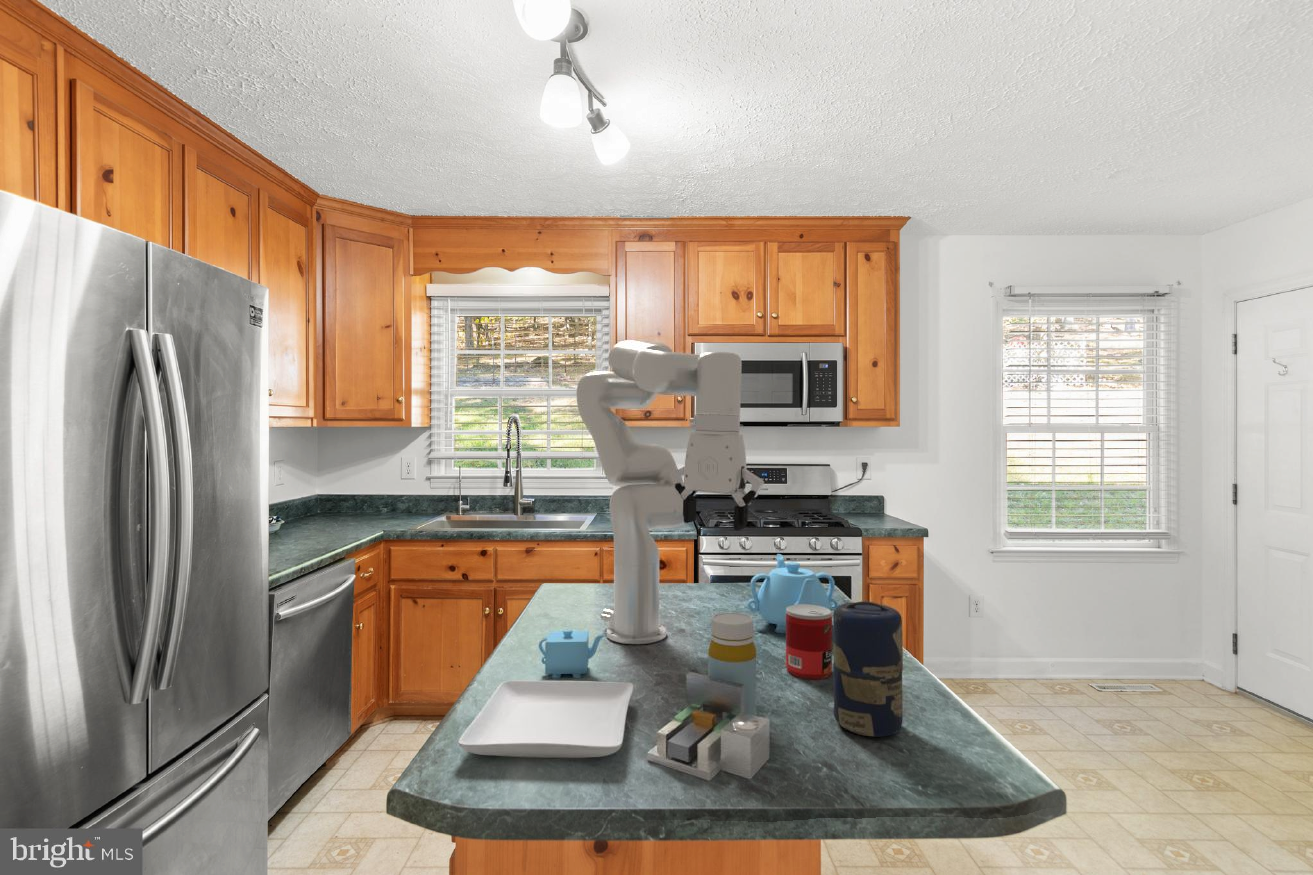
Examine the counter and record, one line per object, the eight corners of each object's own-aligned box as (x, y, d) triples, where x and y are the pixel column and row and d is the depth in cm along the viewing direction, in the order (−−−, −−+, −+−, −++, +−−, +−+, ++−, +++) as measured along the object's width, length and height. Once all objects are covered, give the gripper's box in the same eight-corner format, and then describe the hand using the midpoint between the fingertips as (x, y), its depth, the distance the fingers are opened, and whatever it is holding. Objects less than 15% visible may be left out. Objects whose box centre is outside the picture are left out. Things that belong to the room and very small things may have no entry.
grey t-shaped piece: (649, 749, 79) (649, 698, 79) (690, 717, 89) (690, 671, 89) (707, 768, 75) (708, 713, 75) (744, 733, 84) (744, 684, 84)
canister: (895, 749, 83) (895, 614, 83) (824, 731, 88) (824, 604, 88) (908, 721, 91) (908, 598, 91) (843, 706, 96) (843, 590, 96)
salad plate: (501, 698, 99) (501, 677, 99) (634, 701, 98) (634, 679, 98) (453, 769, 78) (454, 742, 78) (622, 773, 77) (622, 746, 77)
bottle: (762, 715, 92) (762, 615, 93) (747, 735, 86) (747, 627, 86) (718, 706, 96) (718, 609, 96) (701, 725, 89) (701, 621, 89)
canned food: (833, 681, 106) (833, 617, 106) (785, 677, 107) (785, 614, 107) (830, 665, 113) (830, 605, 113) (785, 662, 115) (785, 602, 115)
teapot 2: (778, 610, 149) (778, 552, 149) (853, 628, 135) (853, 564, 135) (736, 624, 138) (736, 561, 138) (812, 645, 124) (812, 575, 124)
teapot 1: (607, 665, 113) (607, 624, 113) (606, 678, 107) (606, 635, 107) (540, 666, 112) (540, 625, 112) (536, 679, 106) (536, 636, 106)
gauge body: (647, 760, 80) (647, 718, 80) (688, 727, 89) (688, 690, 89) (740, 791, 73) (740, 745, 73) (774, 752, 82) (774, 712, 82)
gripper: (662, 423, 107) (659, 522, 108) (754, 427, 97) (751, 535, 98) (685, 423, 113) (682, 516, 114) (773, 427, 104) (770, 528, 104)
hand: (714, 525), depth 106 cm, fingers open, 9 cm apart
